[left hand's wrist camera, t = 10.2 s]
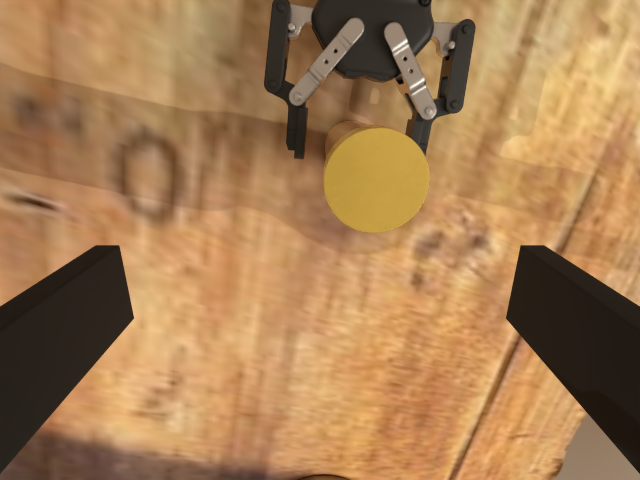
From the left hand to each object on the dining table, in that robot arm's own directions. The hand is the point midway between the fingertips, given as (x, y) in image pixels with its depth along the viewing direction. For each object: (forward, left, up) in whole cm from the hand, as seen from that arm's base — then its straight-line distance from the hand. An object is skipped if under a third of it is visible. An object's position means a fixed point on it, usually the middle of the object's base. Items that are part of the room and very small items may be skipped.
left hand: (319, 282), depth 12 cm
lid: (-2, -3, -7) cm, 8 cm away
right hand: (-2, -2, -18) cm, 19 cm away
